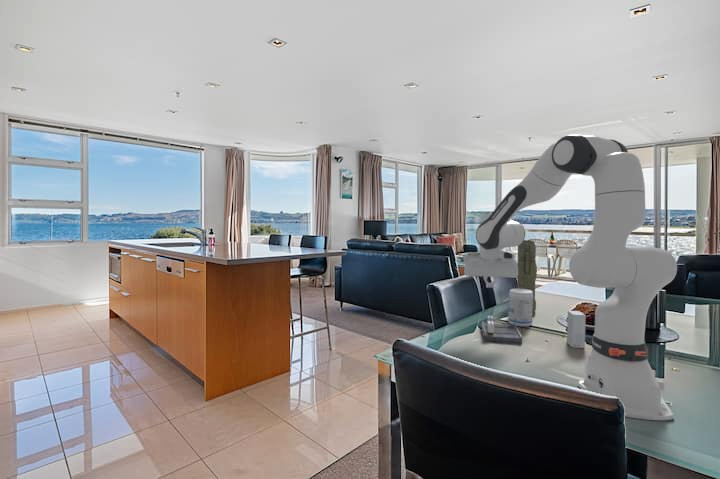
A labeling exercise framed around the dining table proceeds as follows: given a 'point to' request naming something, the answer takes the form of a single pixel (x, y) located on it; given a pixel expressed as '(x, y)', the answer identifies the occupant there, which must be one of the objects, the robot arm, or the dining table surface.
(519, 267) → the green cactus
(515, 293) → the supplement tub
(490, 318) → the fader slate
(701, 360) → the dining table surface
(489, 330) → the fader ivory
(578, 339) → the skincare box
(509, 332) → the grey tray
